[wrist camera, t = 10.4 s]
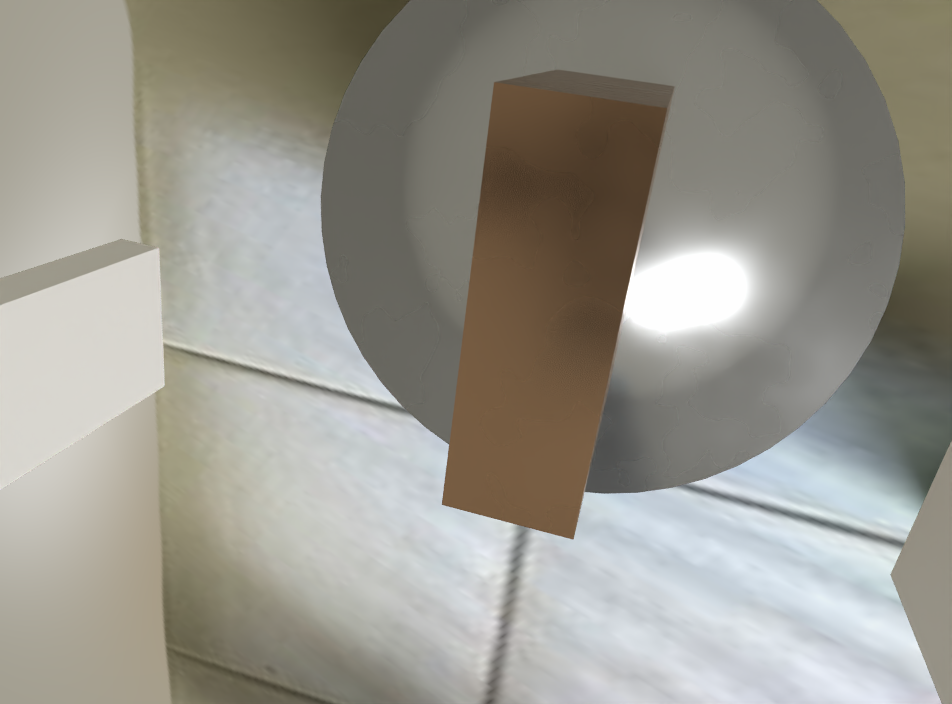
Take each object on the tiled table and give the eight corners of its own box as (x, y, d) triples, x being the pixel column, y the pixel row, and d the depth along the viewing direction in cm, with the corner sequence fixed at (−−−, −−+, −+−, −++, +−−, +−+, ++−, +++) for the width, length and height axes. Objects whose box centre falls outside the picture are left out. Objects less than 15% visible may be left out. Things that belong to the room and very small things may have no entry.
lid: (790, 526, 24) (836, 743, 16) (328, 411, 27) (191, 551, 19) (996, -36, 17) (1229, -96, 10) (350, -104, 20) (155, -188, 13)
